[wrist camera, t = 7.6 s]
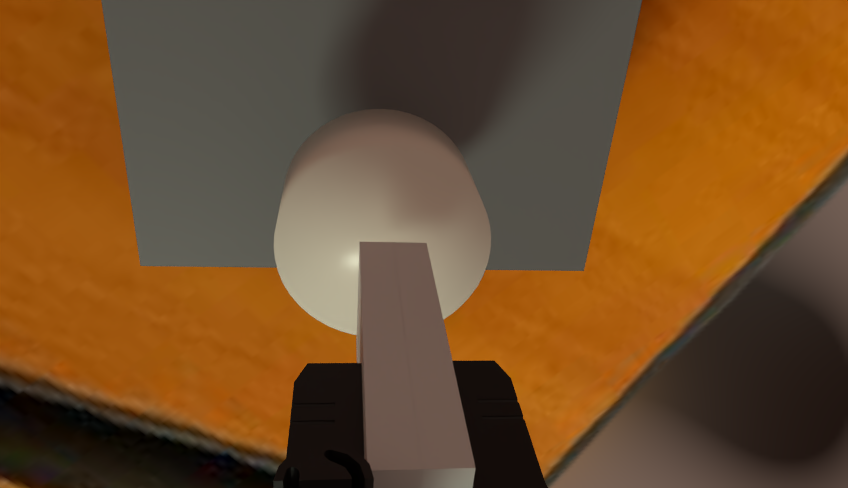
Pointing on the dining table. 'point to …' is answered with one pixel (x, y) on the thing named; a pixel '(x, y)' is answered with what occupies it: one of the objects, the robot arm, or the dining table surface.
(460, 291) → the cream knob
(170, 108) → the control box
